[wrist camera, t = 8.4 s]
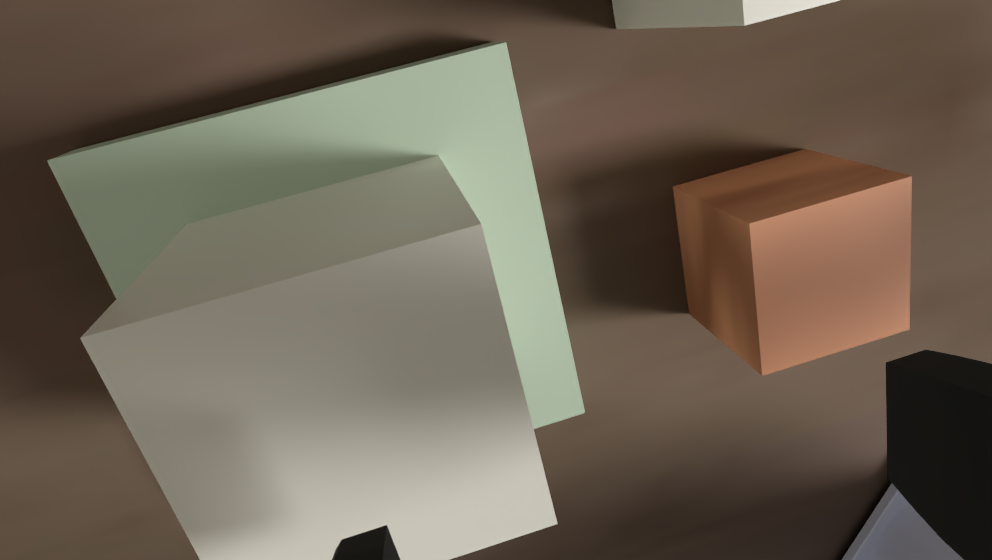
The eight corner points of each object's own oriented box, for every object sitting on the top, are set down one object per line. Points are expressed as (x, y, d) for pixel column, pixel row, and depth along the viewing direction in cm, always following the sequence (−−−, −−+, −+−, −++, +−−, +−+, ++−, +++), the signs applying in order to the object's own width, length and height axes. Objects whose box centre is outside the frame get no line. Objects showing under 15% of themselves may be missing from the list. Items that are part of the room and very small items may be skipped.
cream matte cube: (496, 368, 17) (557, 523, 12) (279, 434, 17) (237, 629, 11) (438, 155, 15) (480, 223, 10) (187, 224, 15) (79, 338, 9)
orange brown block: (809, 275, 20) (909, 329, 16) (687, 312, 20) (762, 375, 16) (803, 148, 19) (911, 176, 15) (671, 186, 18) (749, 223, 15)
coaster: (569, 386, 20) (584, 412, 18) (239, 488, 19) (229, 524, 17) (493, 41, 16) (505, 42, 15) (75, 149, 15) (46, 160, 14)
